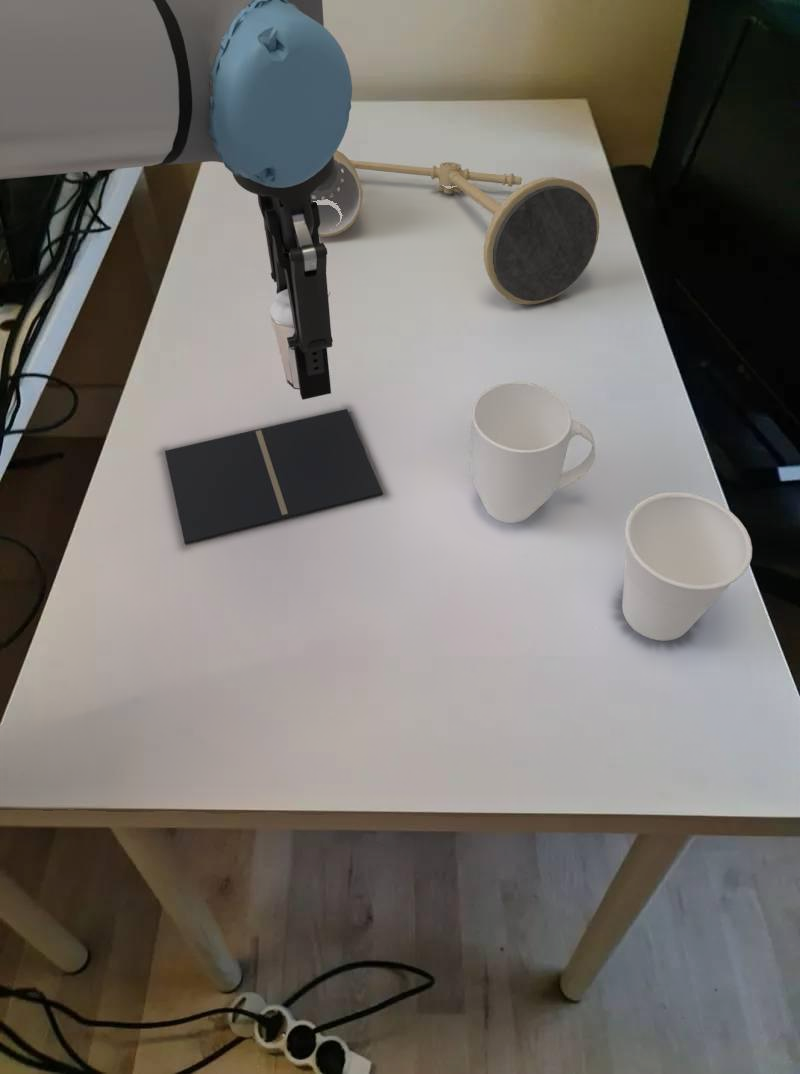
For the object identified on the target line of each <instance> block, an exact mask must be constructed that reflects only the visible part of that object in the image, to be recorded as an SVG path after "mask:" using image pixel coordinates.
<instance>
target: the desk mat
mask: <svg viewBox="0 0 800 1074" xmlns="http://www.w3.org/2000/svg"><path fill="white" fill-rule="evenodd" d="M164 454H165V460H166V463H167V468H168V472H169V477H170V481H171V486H172V492H173V496H174V501H175V506H176V510H177V515H178V520H179V525H180V528H181V534H182V538H183V542H184V545H189V544H193V543H197V542H201V541H205V540H209V539H214V538H217V537H222V536H225V535H229V534H232V533H233V534H234V533H237V532H241V531H245V530H249V529H253V528H256V527H257V528H258V527H261V526H265V525H268V524H273V523H276V522H277V523H278V522H280V521H285V520H288V519H289V520H290V519H292V518H296V517H301V516H305V515H308V514H309V515H310V514H312V513H316V512H320V511H324V510H328V509H332V508H336V507H339V506H344V505H347V504H352V503H356V502H359V501H364V500H368V499H372V498H375V497H379V496H383V495H384V494H383V489H382V488H381V485H380V483H379V481H378V478H377V476H376V473H375V471H374V468H373V466H372V465H371V462H370V460H369V457H368V455H367V453H366V450H365V448H364V445H363V443H362V440H361V438H360V436H359V434H358V432H357V429H356V427H355V424H354V421H353V419H352V417H351V415H350V412H349V410H348V408H344V409H340V410H336V411H332V412H326V413H322V414H317V415H313V416H309V417H305V418H301V419H297V420H293V421H287V422H283V423H279V424H275V425H270V426H266V427H261V428H258V429H252V430H249V431H245V432H240V433H236V434H231V435H227V436H222V437H218V438H214V439H210V440H206V441H201V442H196V443H192V444H188V445H183V446H179V447H175V448H170V449H165V450H164Z"/></svg>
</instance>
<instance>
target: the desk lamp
mask: <svg viewBox="0 0 800 1074" xmlns="http://www.w3.org/2000/svg"><path fill="white" fill-rule="evenodd" d="M357 170H368V171H375V172H376V171H378V172H387V173H394V174H395V173H397V174H405V175H417V176H425V177H426V176H427V177H430V179H431V180H435V179H438V184H439V185H438V186H437V187H436V191H437V192H438V191H443V193H444V194H448V195H449V194H450V195H451V194H453V193H454V192H455V193H458V194H461V191H462V192H463V193H464V194H466V195H467V196H468V197H470V198H471V199H472V200H474V201H475V202H476V203H478V204H479V205H480V206H481V207H483V208H484V209H486V210H487V211H488V212H489V213H491V214H492V215H493V217H492V218H491V220H490V222H489V225H488V228H487V230H486V233H485V238H484V242H483V263H484V267H485V272H486V274H487V276H488V279H489V280H490V282H491V284H492V285H493V287H494V288H495V289H496V291H497V292H498V293H499V294H500V295H501V296H502V297H504V298H506V299H507V300H508V301H511V302H513V303H516V304H519V305H528V306H529V305H536V304H541V303H545V302H547V301H550V300H553V299H555V298H556V297H559V296H561V295H562V294H563V293H565V292H566V291H568V289H570V288H571V287H572V286H573V285H574V284H575V283H576V282H577V281H578V280H579V278H581V276H582V275H583V273H584V272H585V270H586V269H587V268H588V266H589V264H590V263H591V261H592V258H593V257H594V256H593V255H594V254H595V251H596V247H597V244H598V240H599V234H600V216H599V212H598V208H597V204H596V202H595V200H594V198H593V197H592V195H591V194H590V193H589V191H587V190H586V188H585V187H584V186H582V185H581V184H578V182H576V181H573V180H570V179H565V178H562V177H561V178H560V177H555V176H550V177H549V176H548V177H541V178H538V179H535V180H531V181H529V182H527V183H525V184H523V185H521V184H522V177H521V176H515V174H514V173H509V175H507V174H506V173H504V174H496V173H495V174H494V173H485V172H475V171H470V169H469V168H466V169H464V170H463V169H462V164H460V163H457V162H451V161H446V162H441V163H440V164H439V167H437V166H436V165H432V167H423V166H413V165H404V164H395V163H394V164H392V163H384V162H383V163H382V162H373V161H363V160H352V159H349V158H348V157H347V156H346V155H345V154H344V153H342V152H341V151H339V150H338V149H337V150H336V152H335V154H334V171H333V173H332V175H331V177H330V178H329V180H328V181H327V182H326V183H325V184H324V185H322V186H321V187H319V188H317V189H316V190H315V191H314V192H313V193H312V194H311V195H310V196H311V202H313V201H317V200H320V199H322V197H324V200H325V199H328V200H330V201H333V202H334V203H337V204H336V205H338V206H339V208H340V209H341V210H340V211H341V213H342V215H343V216H342V219H341V222H340V215H339V213H338V211H337V210H336V209H335V208H333V207H332V206H330V205H318V210H319V216H320V226H319V228H318V233H319V237H323V238H327V237H333V236H337V235H339V234H341V233H343V232H344V231H346V230H347V229H349V228H350V227H351V226H352V225H353V224H354V222H355V221H356V220H357V218H358V217H359V214H360V212H361V211H362V210H361V209H362V206H363V198H364V197H363V195H364V193H363V192H364V191H363V187H362V183H361V180H360V178H359V175H358V172H357ZM342 180H343V182H342ZM470 181H474V182H483V183H484V182H485V183H494V184H502V185H503V186H505V185H507V186H508V187H509V188H511V187H513V186H514V185H515V186H519V187H518V188H517V189H515V190H514V192H512V193H511V194H509V196H507V197H506V199H504V201H503V202H501V203H499V202H498V201H497V200H495V199H494V198H493V197H492V196H490V195H488V194H487V193H486V192H485V191H483V190H481V189H480V188H479V187H477V186H476V185H474V184H473V183H472V182H470ZM440 185H444V186H451V187H452V186H457V187H453V188H451V189H447V188H445V187H444V186H440ZM520 185H521V186H520ZM338 188H339V190H338ZM331 194H332V195H333V196H331ZM313 196H314V197H315V198H314V197H313ZM339 222H340V223H339ZM338 223H339V224H338ZM337 224H338V225H337ZM336 225H337V226H336ZM330 229H331V230H330Z"/></svg>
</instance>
